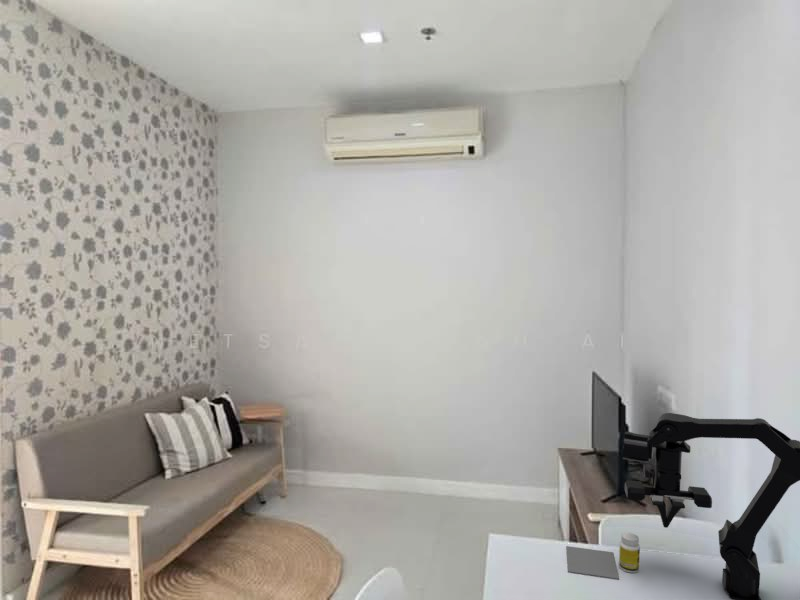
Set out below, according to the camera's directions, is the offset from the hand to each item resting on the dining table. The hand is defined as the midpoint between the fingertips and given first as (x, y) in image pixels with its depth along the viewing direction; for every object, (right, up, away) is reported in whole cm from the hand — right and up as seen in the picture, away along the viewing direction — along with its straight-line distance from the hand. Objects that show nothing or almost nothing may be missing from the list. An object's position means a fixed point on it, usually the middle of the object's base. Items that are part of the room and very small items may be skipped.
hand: (665, 526), depth 133 cm
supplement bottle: (-8, -12, +3) cm, 15 cm away
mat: (-16, -12, +6) cm, 21 cm away
